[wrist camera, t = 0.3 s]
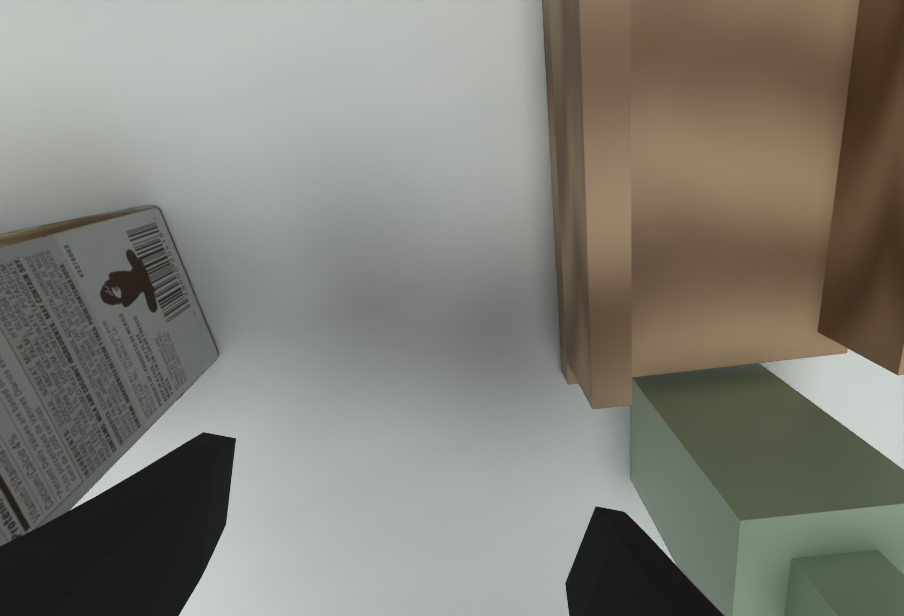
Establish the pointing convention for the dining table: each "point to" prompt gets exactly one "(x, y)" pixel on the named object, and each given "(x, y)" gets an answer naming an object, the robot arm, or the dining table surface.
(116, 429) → the coffee box
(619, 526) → the robot arm
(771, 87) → the cradle
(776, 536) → the bottle
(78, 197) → the dining table surface
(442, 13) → the dining table surface
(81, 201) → the dining table surface
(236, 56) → the dining table surface
